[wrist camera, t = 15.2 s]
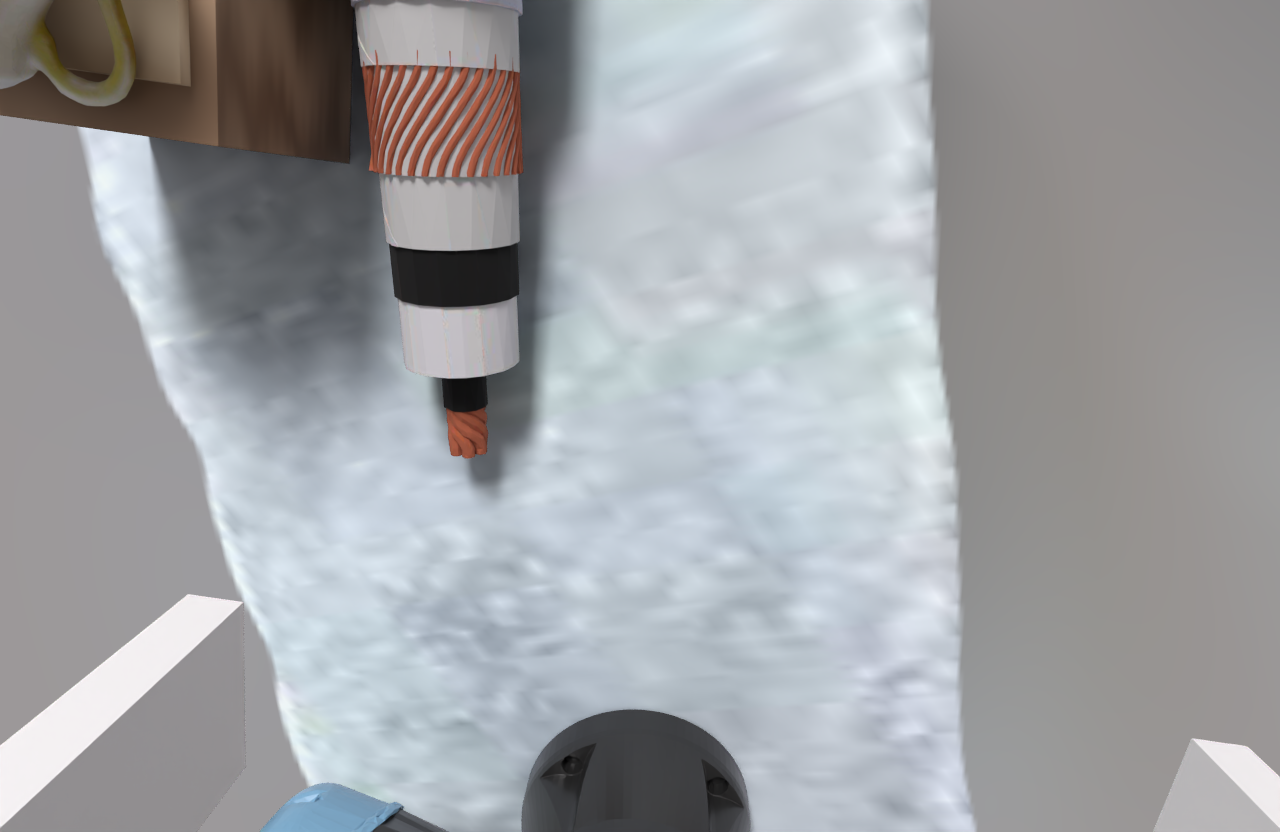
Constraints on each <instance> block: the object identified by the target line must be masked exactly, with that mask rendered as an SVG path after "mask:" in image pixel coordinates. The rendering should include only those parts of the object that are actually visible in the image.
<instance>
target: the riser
mask: <svg viewBox="0 0 1280 832" xmlns="http://www.w3.org/2000/svg"><path fill="white" fill-rule="evenodd" d="M121 3H122V6H123V9H124V13H125V16H126V19H127V22H128V25H129V29H130V32H131V35H132V38H133V43H134V48H135V52H136V76H135V79H134V82H133V84H132V86H131V89H130V91H129V92H128V94H127V96H126V97H125V98H123V99H122V100H121V101H119V102H118V103H115V104H111V105H108V106H86V105H83V104H81V103H78V102H76V101H74V100H72V99H70V98H69V97H67V96H65V95H64V94H62V93H60V91H59V90H58V89H57V88H56V86H55V85H54V84H53V83H52V82H51V80H50V79H49V78H48V77H47V76H46V75H45V74H44V73H43V72H42V71H40V70H38V71H37V72H36V73H35V74H34V76H32V77H31V78H29V79H27V80H25V81H22V82H20V83H18V84H16V85H14V86H11V87H8V88H4V89H0V115H3V116H10V117H17V118H24V119H31V120H38V121H45V122H52V123H58V124H66V125H73V126H79V127H86V128H93V129H100V130H107V131H114V132H121V133H128V134H135V135H142V136H149V137H156V138H163V139H170V140H177V141H184V142H191V143H198V144H205V145H212V146H219V147H226V148H234V149H242V150H249V151H257V152H264V153H272V154H280V155H287V156H295V157H302V158H310V159H317V160H325V161H333V162H340V163H348V164H349V155H350V117H351V78H352V40H353V6H351V1H350V0H121ZM45 24H46V26H47V28H48V30H49V31H50V33H51V35H52V36H53V38H54V40H55V43H56V48H57V52H58V57H59V60H60V62H61V63H62V65H63V66H64V67H65V68H66V69H67V70H68V71H70V72H71V73H73V74H74V75H76V76H78V77H81V78H83V79H86V80H88V81H93V82H102V81H104V80H107V78H108V77H109V76H110V74H111V73H112V71H113V68H114V64H115V59H114V51H113V45H112V41H111V38H110V35H109V31H108V27H107V25H106V22H105V19H104V17H103V14H102V12H101V9H100V7H99V4H98V2H97V0H54V1H53V2H52V4H51V6H50V8H49V10H48V12H47V15H46V18H45Z"/></svg>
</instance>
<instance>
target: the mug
mask: <svg viewBox="0 0 1280 832" xmlns="http://www.w3.org/2000/svg"><path fill="white" fill-rule="evenodd" d="M53 1H54V0H0V89H4V88H8V87H11V86H14V85H16V84H18V83H20V82H22V81H25V80H27V79H29V78H31V77H32V76H34V74H35V73H36V72H37V71H38V70H40V71H42V72H43V73H44V74H45V75H46V76H47V77H48V78H49V79H50V80H51V82H52V83H53V84H54V85H55V86H56V88H57V89H58V90H59V91H60V93H62V94H64V95H65V96H67V97H69V98H70V99H72V100H74V101H76V102H78V103H81V104H83V105H86V106H108V105H111V104H115V103H118V102H119V101H121V100H122V99H123V98H125V97H126V96H127V94H128V92H129V91H130V89H131V86H132V84H133V82H134V79H135V76H136V52H135V48H134V43H133V38H132V35H131V32H130V29H129V25H128V22H127V19H126V16H125V13H124V9H123V6H122V3H121V0H97V2H98V4H99V7H100V9H101V12H102V14H103V17H104V19H105V22H106V25H107V27H108V31H109V35H110V38H111V41H112V45H113V51H114V59H115V64H114V68H113V71H112V73H111V74H110V76H109V77H108V78H107V80H104V81H102V82H93V81H88V80H86V79H83V78H81V77H78V76H76V75H74V74H73V73H71V72H70V71H68V70H67V69H66V68H65V67H64V66H63V65H62V63H61V62H60V60H59V57H58V52H57V48H56V43H55V40H54V38H53V36H52V35H51V33H50V31H49V30H48V28H47V26H46V24H45V18H46V15H47V12H48V10H49V8H50V6H51V4H52V2H53Z"/></svg>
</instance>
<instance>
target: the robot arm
mask: <svg viewBox="0 0 1280 832" xmlns="http://www.w3.org/2000/svg"><path fill="white" fill-rule="evenodd" d="M244 678H245V676H244V604H243V602H238V601H232V600H224V599H218V598H210V597H203V596H197V595H189V594H188V595H187V596H186V597H184V598H183V599H182V600H180V601H179V602H178V603H177V604H175V606H173V607H172V608H171V609H169V610H168V611H167V612H166V613H165V614H163V615H162V616H161V617H159V618H158V619H157V620H156V621H154V622H153V623H152V624H151V625H150V626H148V627H147V628H146V629H144V630H143V631H142V632H141V633H139V634H138V635H137V636H136V637H135V638H133V639H132V640H131V641H130V642H128V643H127V644H126V645H125V646H123V647H122V648H121V649H120V650H118V651H117V652H116V653H115V654H113V655H112V656H111V657H110V658H108V659H107V660H106V661H105V662H104V663H102V664H101V665H100V666H98V667H97V668H96V669H95V670H93V671H92V672H91V673H90V674H89V675H87V676H86V677H85V678H84V679H82V680H81V681H80V682H79V683H77V684H76V685H75V686H74V687H72V688H71V689H70V690H69V691H67V692H66V693H65V694H64V695H63V696H61V697H60V698H59V699H58V700H56V701H55V702H54V703H53V704H51V705H50V706H49V707H48V708H46V709H45V710H44V711H43V712H41V713H40V714H39V715H38V716H36V717H35V718H34V719H33V720H32V721H30V722H29V723H28V724H26V725H25V726H24V727H23V728H22V729H20V730H19V731H18V732H17V733H15V734H14V735H13V736H12V737H10V738H9V739H8V740H7V741H6V742H4V743H3V744H2V745H0V832H197V831H198V830H199V828H200V827H201V826H202V824H203V823H204V822H205V820H206V819H207V818H208V816H209V815H210V814H211V812H212V811H213V809H214V808H215V807H216V806H217V804H218V803H219V802H220V800H221V799H222V798H223V796H224V795H225V794H226V793H227V791H228V790H229V788H230V787H231V786H232V785H233V783H234V782H235V780H236V779H237V778H238V777H239V775H240V774H241V773H242V771H243V770H244V769H245V767H246V755H245V754H246V748H245V683H244V681H245V679H244ZM403 808H404V806H402V805H401V804H400V803H397V802H393V803H391V804H388V803H386V802H383V801H380V800H378V799H375V798H373V797H370V796H368V795H365V794H363V793H360V792H357V791H355V790H352V789H350V788H347V787H345V786H342V785H339V784H335V783H321V784H316V785H314V786H311V787H309V788H306V789H305V790H302V791H301V792H299V793H298V794H296V795H295V796H294V797H292V798H291V799H290V800H289V801H288V802H286V803H285V804H284V805H283V806H282V807H281V809H279V810H278V811H277V813H276V814H275V815H274V816H273V817H272V818H271V819H270V820H269V821H268V823H267V824H266V825H265V826H264V827H263V828H262V829H261V831H260V832H448V831H446V830H444V829H442V828H440V827H438V826H435V825H433V824H431V823H429V822H427V821H425V820H423V819H420V818H418V817H416V816H414V815H412V814H410V813H408V812H406V811H404V810H403ZM521 821H522V832H750V814H749V806H748V799H747V791H746V786H745V783H744V779H743V777H742V774H741V772H740V770H739V768H738V766H737V764H736V762H735V761H734V759H733V758H732V756H731V755H730V754H729V752H728V751H727V750H726V749H725V748H724V747H723V746H722V745H721V744H720V743H719V742H718V741H717V740H716V739H715V738H714V737H712V736H711V735H710V734H708V733H707V732H706V731H704V730H703V729H701V728H699V727H698V726H696V725H694V724H692V723H690V722H688V721H686V720H683V719H681V718H678V717H675V716H672V715H669V714H664V713H660V712H655V711H647V710H618V711H611V712H606V713H601V714H598V715H594V716H591V717H589V718H586V719H584V720H581V721H579V722H577V723H575V724H573V725H571V726H570V727H568V728H567V729H565V730H564V731H562V732H561V733H559V734H558V735H557V736H556V737H555V738H554V739H552V740H551V741H550V742H549V744H548V745H547V746H546V747H545V748H544V749H543V751H542V752H541V753H540V755H539V756H538V758H537V760H536V762H535V764H534V766H533V768H532V771H531V773H530V777H529V781H528V785H527V789H526V793H525V797H524V801H523V807H522V820H521ZM1153 832H1280V777H1279V776H1278V775H1277V774H1276V773H1275V772H1274V771H1273V770H1272V769H1271V768H1270V767H1268V765H1266V764H1265V763H1264V762H1263V761H1262V760H1261V759H1260V758H1259V757H1258V756H1257V755H1255V753H1254V752H1253V751H1251V750H1250V749H1249V748H1248V747H1247V746H1241V745H1234V744H1227V743H1220V742H1213V741H1206V740H1199V739H1191V741H1190V744H1189V746H1188V749H1187V751H1186V753H1185V756H1184V758H1183V761H1182V763H1181V766H1180V768H1179V770H1178V773H1177V776H1176V778H1175V780H1174V782H1173V785H1172V787H1171V790H1170V792H1169V795H1168V797H1167V800H1166V802H1165V804H1164V807H1163V809H1162V812H1161V814H1160V816H1159V819H1158V821H1157V824H1156V826H1155V829H1154V831H1153Z"/></svg>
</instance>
